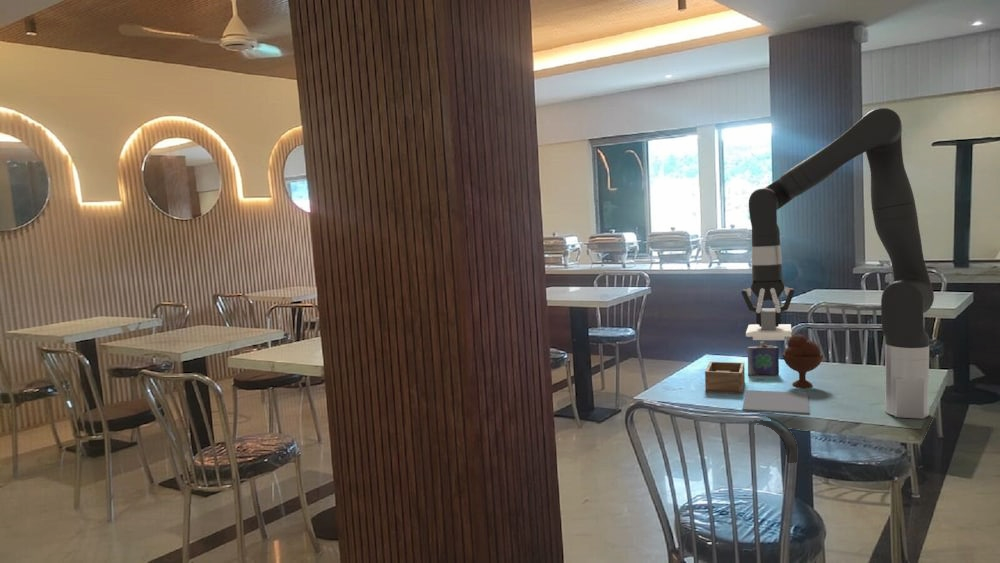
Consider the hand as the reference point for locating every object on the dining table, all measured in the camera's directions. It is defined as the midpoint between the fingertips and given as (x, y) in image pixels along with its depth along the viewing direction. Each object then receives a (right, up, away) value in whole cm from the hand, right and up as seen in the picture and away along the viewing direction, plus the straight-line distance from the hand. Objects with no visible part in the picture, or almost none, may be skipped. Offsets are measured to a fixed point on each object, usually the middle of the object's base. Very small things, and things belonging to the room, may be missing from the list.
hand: (769, 325), depth 183 cm
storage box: (-6, -19, +18) cm, 27 cm away
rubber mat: (+2, -20, 0) cm, 21 cm away
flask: (+10, -18, +30) cm, 37 cm away
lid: (0, -3, 0) cm, 3 cm away
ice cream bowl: (+16, -19, +15) cm, 29 cm away
